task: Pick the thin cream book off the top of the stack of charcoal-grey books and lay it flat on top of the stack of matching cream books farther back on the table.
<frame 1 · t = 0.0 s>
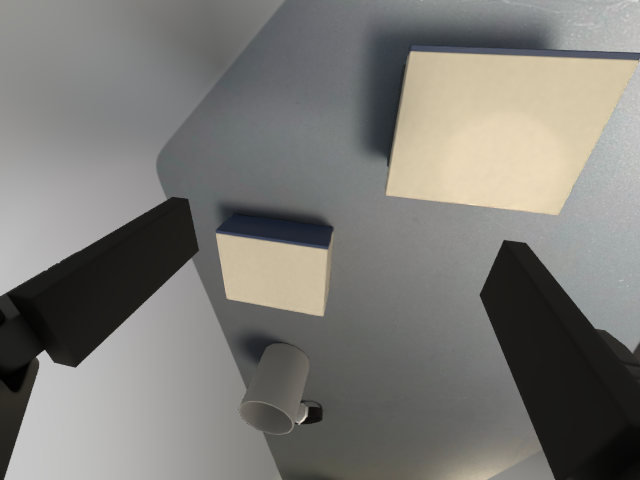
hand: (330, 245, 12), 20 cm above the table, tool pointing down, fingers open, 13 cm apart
watch: (307, 407, 57), on the table
cream book: (480, 133, 22), point 5 cm above the table, touching grey stack
cup: (286, 358, 50), on the table
cream stack: (283, 255, 38), on the table
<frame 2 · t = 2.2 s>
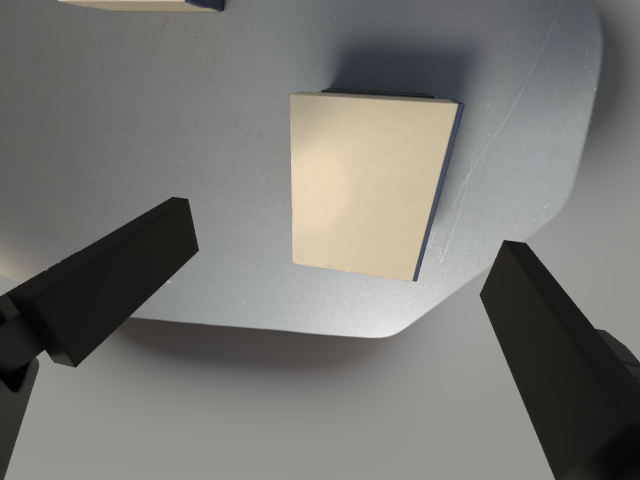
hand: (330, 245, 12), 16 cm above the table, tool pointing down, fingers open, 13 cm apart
grey stack: (366, 169, 27), on the table
cream book: (361, 187, 22), point 5 cm above the table, touching grey stack
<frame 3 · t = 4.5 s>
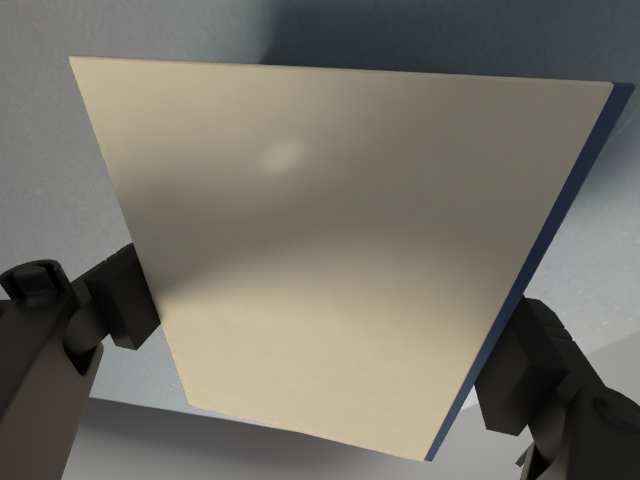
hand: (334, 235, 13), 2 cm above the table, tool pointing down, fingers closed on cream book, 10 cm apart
cream book: (317, 272, 11), point 5 cm above the table, touching grey stack, gripper
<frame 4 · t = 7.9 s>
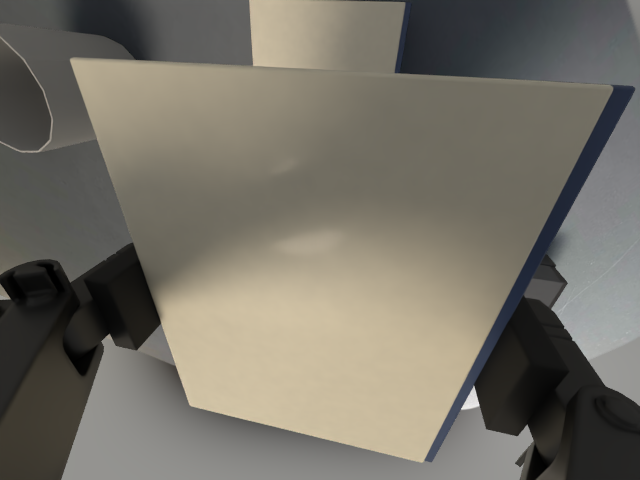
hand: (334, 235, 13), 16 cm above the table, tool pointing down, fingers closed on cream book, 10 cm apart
grey stack: (475, 293, 32), on the table
cream book: (317, 273, 11), point 19 cm above the table, touching gripper
cup: (114, 86, 29), on the table
cream stack: (328, 104, 25), on the table
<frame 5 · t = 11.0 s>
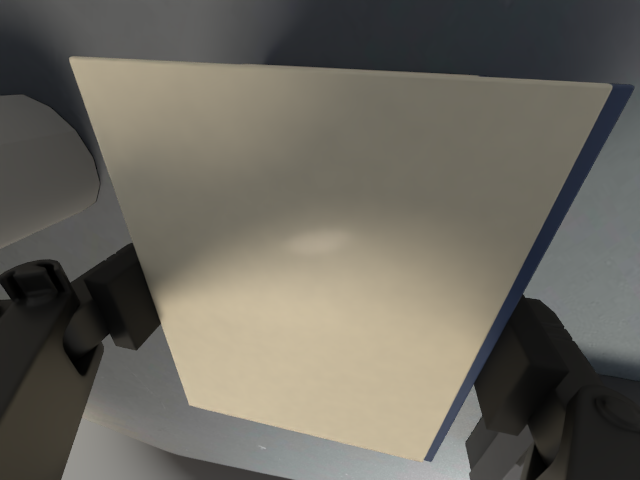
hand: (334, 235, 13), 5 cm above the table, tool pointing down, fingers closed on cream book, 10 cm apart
grey stack: (538, 417, 24), on the table
cream book: (316, 272, 11), point 8 cm above the table, touching gripper
cup: (48, 157, 21), on the table
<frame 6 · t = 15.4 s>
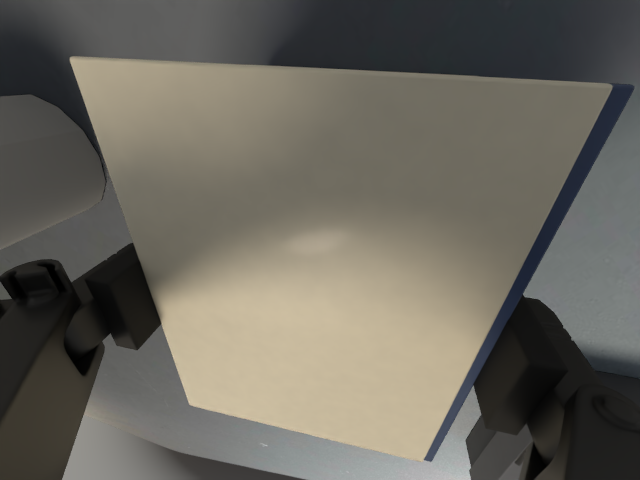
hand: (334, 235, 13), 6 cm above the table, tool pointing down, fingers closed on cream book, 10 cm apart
grey stack: (538, 414, 24), on the table
cream book: (317, 272, 11), point 8 cm above the table, touching gripper
cup: (55, 156, 21), on the table
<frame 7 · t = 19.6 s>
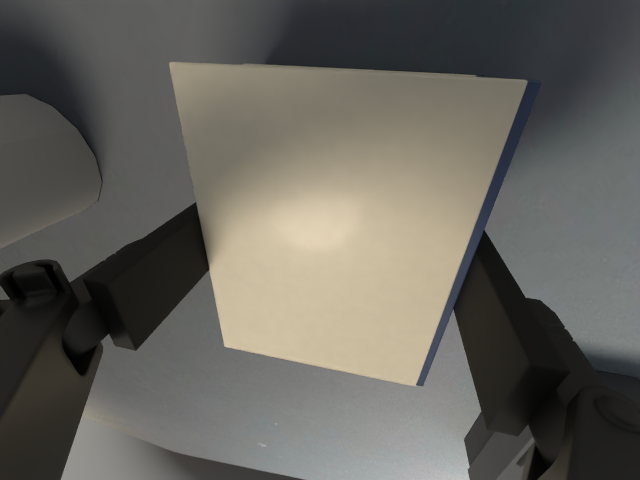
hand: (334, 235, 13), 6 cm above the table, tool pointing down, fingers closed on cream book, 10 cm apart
grey stack: (536, 413, 24), on the table
cream book: (331, 232, 13), point 5 cm above the table, touching gripper
cup: (50, 156, 21), on the table
cream stack: (346, 191, 18), on the table
when the fingers open (6 cm above the table, at t = 19.7 s): cream book stays where it is, resting on cream stack.
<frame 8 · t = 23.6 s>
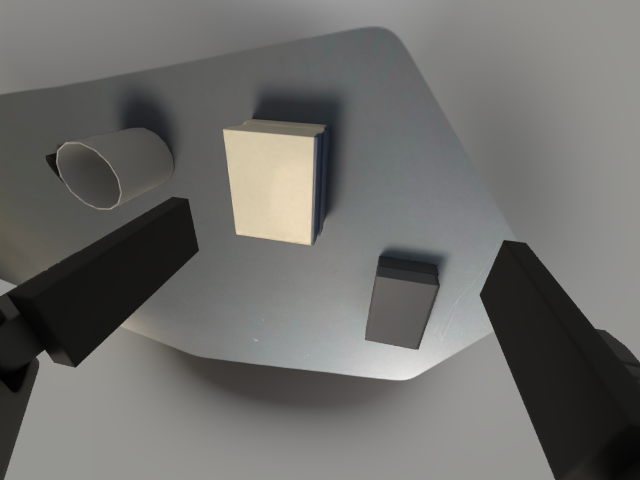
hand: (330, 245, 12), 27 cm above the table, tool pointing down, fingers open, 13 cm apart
grey stack: (398, 292, 46), on the table
watch: (80, 172, 47), on the table
cream book: (277, 184, 35), point 5 cm above the table, touching cream stack
cup: (149, 156, 43), on the table
cream stack: (289, 172, 39), on the table
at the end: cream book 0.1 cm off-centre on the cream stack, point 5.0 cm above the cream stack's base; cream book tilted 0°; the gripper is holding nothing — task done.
